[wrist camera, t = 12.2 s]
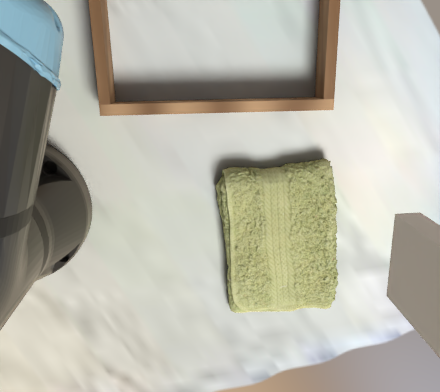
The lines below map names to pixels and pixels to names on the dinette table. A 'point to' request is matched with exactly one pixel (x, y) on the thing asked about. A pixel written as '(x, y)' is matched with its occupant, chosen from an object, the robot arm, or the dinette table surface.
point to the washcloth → (279, 236)
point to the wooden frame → (321, 101)
